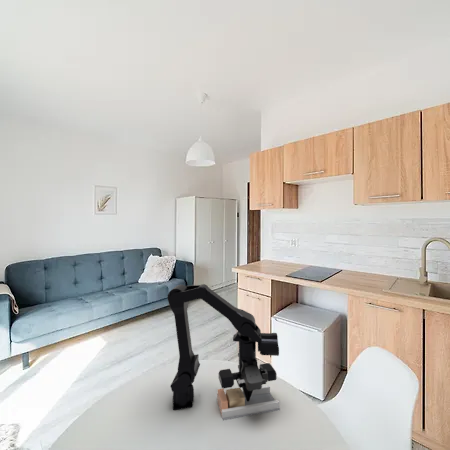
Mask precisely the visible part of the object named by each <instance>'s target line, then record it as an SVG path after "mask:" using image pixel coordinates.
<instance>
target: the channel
mask: <svg viewBox="0 0 450 450" xmlns="http://www.w3.org/2000/svg"><path fill="white" fill-rule="evenodd" d="M241 390H242V393H243V395H244V392H243V389H242V388H241ZM244 397H245V395H244ZM216 402H217V404H218V407H219V412H220V416H221V418H222V421H227V420H232V419H233V420H234V419H240V418H245V417H251V416H256V415H261V414H267V413H272V412H277V411H281V408H280V400H278V399H276V400H275V399H274V397H273V396H272V394H271V387H270V385H269V384H268V385H267V384H266V385H262V388H261V389H259V390H258V389H256V390H253V392H252V394H251V397H250V400H249V401H247V400H246V398H245V406H240V407H234V408H228V401H227V398H226V391H225V388H218V389H217V392H216Z"/></svg>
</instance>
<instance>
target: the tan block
mask: <svg viewBox="0 0 450 450" xmlns="http://www.w3.org/2000/svg"><path fill="white" fill-rule="evenodd" d="M225 392H226V398H227V401H228V408H234V407H240V406H245V397H244V395H243V393H242V388H240V387H235V388H227V389H226V390H225Z"/></svg>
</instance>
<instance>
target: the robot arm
mask: <svg viewBox="0 0 450 450" xmlns="http://www.w3.org/2000/svg"><path fill="white" fill-rule="evenodd" d="M195 300H202V301H204V302H205V303H206V304H207V305H209V306H210V307H212V308H213V309H214V310H216V311H217V312H218V313H220V315H222V316H223V317H225V318H226V319H227V320H228V321H229V322H230V323H231V324H232V326H233V327H234V329H235V330H236V333H234V334H233V336H232V342H237V343H238V352H237V357H238V365H237V368H238V371H237V372H232V370H231V368H227V369H226V368H225V369H219V371H218V373H217V374H218V381H219V383H220V384H219V385H220V386H221V389H231V388H232V387H234V386H235V381H236V383H237V386H238V388H241V390H242V389H243V392H244V395H245V398H246V400H247V401H249V400H250V397H251V394H252V392H253V390H256V389H258V390H259V389H261V388H262V386H264V385H267V383H268V382H273V381H276V380H277V377H278V376H277V370H275V368H274V366H273V365H272V364H271V363H269V362H268V363H260V364H259V365H258V359H257V357H256V356H257V352H258V353H259V355H261V356H271V357H272V356H273V357H274V356H277V357H279V356H280V348H279V347H280V346H279V339H278V338H279V336H278V333H277V332H270V333H269V332H262V331H261V328H260V327H259V326H258V325H257V324H256V319H255V316H254V315H253V314H252V313H250V312H248V311H246V310H244V309H241V308H238V307H235V306H234V305H232V304H231V303H230V302H229V301H227V300H226V299H225V298H224V297H222V296H221V295H219V294H218V293H217V292H215V290H213V289H211V288H210V287H209V286H208V285H207V284H204V283H203V284H194V285H193V284H191V285H184V284H177V285H176V286H175V287H174V288H172V289H171V290H170V291H169V292H168V294H167V302H168V305H169V308H170V310H171V311H172V313H173V315H174V322H175V331H176V337H177V338H176V339H177V347H178V353H179V358H178V359H179V360H178V363H177V364H178V365H177V372H176V374H175V376H174V378H173V380H172V382H171V384H170V389H171V392H172V410H173V411H177V410H179V411H180V410H184V409H190V408H193V406H194V403H193V402H194V401H195V399H194V398H195V393H194V392H195V389H194V385H193V383H194V382H195V379H196V377H197V374H198V371H199V369H200V365H201V363H200V361H199V360H200V359H199V354H198V353H196V354H195V353H194V352H193V346H192V338H191V330H190V323H189V315H188V308H189V302H191V301H192V302H193V301H195ZM256 345H257V346H256ZM256 348H257V349H256Z"/></svg>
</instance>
